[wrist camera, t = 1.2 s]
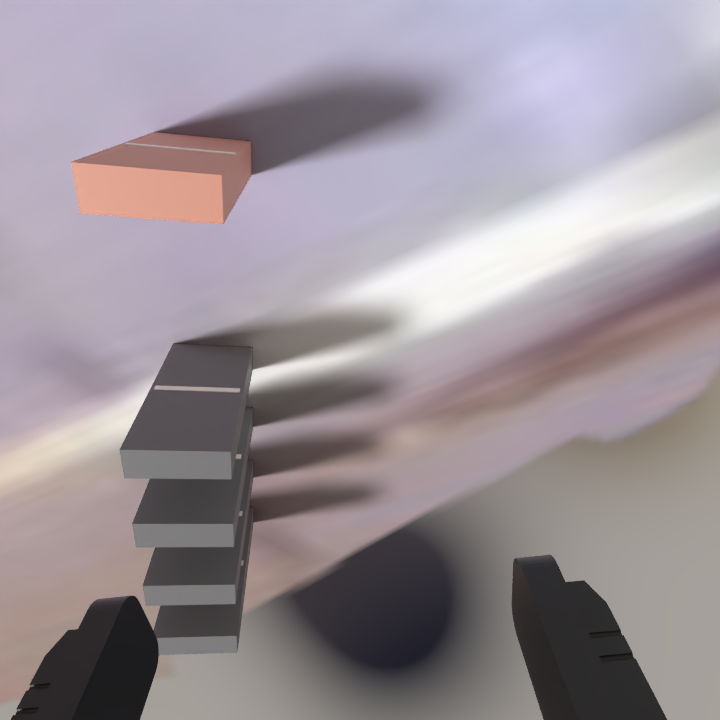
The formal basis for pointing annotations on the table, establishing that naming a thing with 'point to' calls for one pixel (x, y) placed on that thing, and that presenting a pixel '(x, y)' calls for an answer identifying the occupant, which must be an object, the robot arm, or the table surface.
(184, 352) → the domino
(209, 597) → the domino
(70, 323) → the table surface
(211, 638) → the domino
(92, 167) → the domino
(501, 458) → the table surface
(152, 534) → the domino
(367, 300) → the table surface
